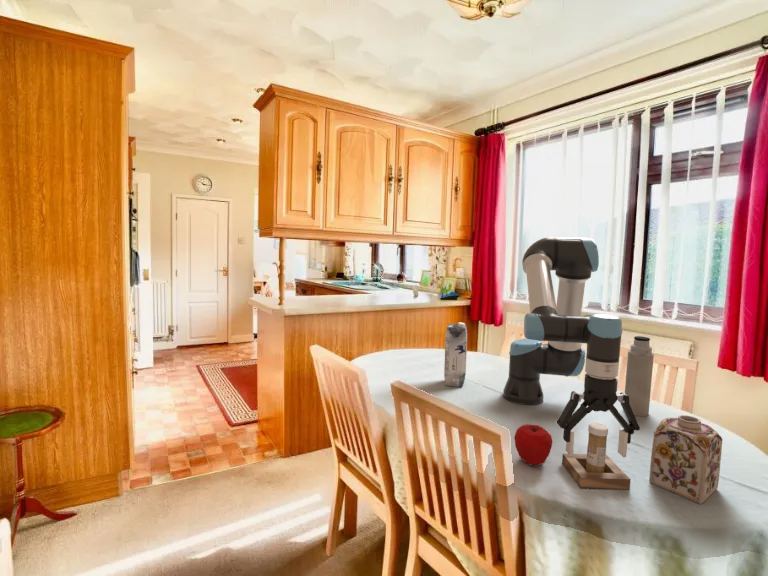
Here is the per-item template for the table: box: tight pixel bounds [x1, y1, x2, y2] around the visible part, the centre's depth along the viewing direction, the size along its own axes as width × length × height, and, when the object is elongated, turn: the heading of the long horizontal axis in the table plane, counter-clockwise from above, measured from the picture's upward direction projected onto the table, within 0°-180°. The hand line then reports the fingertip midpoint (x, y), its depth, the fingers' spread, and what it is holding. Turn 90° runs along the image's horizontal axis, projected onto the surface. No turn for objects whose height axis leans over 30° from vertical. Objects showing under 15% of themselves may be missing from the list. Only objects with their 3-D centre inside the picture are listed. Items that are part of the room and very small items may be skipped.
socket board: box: [561, 452, 631, 492], centre depth 109 cm, size 12×12×3 cm
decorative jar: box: [648, 415, 723, 505], centre depth 105 cm, size 12×12×18 cm
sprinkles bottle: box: [585, 422, 609, 473], centre depth 109 cm, size 5×5×14 cm
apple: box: [513, 423, 553, 467], centre depth 115 cm, size 10×10×11 cm
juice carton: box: [443, 321, 468, 388], centre depth 179 cm, size 9×10×27 cm
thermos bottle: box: [624, 335, 654, 417], centre depth 151 cm, size 8×8×28 cm
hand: (595, 454), depth 109 cm, fingers open, 13 cm apart
